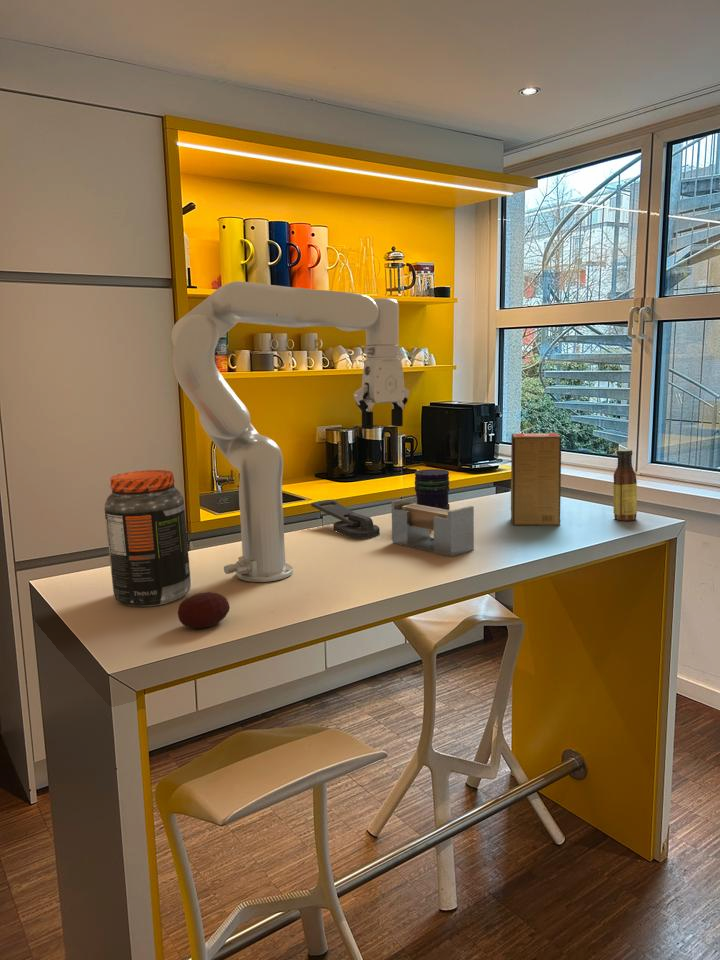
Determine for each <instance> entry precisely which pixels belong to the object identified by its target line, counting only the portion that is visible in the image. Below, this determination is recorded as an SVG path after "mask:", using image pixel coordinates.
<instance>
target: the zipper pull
mask: <svg viewBox="0 0 720 960" xmlns="http://www.w3.org/2000/svg"><path fill="white" fill-rule="evenodd" d="M310 506H311V507H312V508H314V509H316V510H319V511H321V512H323V513H325V514H327V515H329V516H330V517H331V516H332V517H334V518H336V519H338V521H336V522H333V524H332V525H333V526H332V527H333V532H335V531H337V532H339V533H341V534H340V535H342V534H343V535H342V536H344V535H345V537H346V536H347V538H348V537H349V539H351V538H352V540H368V538H369V539H372V537H374V538H376V536H377V537H379V536H380V535H381V532H380V527H379V526H378V525H376V524H374V521H373V519H372V517H370V516H367V515H363V514H359V513H356V512H354V511H352V510H351V509H350V508H347V507H346V506H344V505H343V504H341V503H339V502H337V501H336V500H334V499H325V500H324V499H323V500H317V501H315V502H311V503H310ZM337 532H336V533H337ZM339 533H338V534H339ZM378 535H379V536H378Z"/></svg>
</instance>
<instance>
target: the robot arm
mask: <svg viewBox="0 0 720 960" xmlns="http://www.w3.org/2000/svg"><path fill="white" fill-rule="evenodd" d="M399 313H400V307H399V302H398V301H397V299H394V298H388V297H386V298H385V297H381V298H371V297H370V296H369V295H366V294H361V293H357V292H356V293H355V292H346V291H338V290H324V289H314V288H313V289H312V288H304V287H293V286H283V285H275V284H267V283H257V282H251V281H240V280H239V281H238V280H237V281H235V280H234V281H231V282H228V283H225V284H224V285H221V286H219V287H218V288H217V289H216V290H214V291H213V292H212V293H211V294H209V296H208V297H206V298H205V299H204V300H203V301H202V302H200V303H199V304H197V305H196V306H195V307H194V308H192V309H191V310H190V311H189V312H187V313H186V314H184V316H182V317H181V318H180V319H179V320H177V322H175V324H174V325H173V328H172V330H171V334H170V335H171V341H172V342H171V343H172V344H173V351H172V366H173V372H174V375H175V378H176V381H177V382H178V385H179V386H180V387H181V389H182V391H183V392H184V393H185V395H186V397H187V398H188V399H189V401H190V402H191V403H192V405H193V406H194V408H195V409H196V411H198V418H199V422H200V426H201V427H202V428H203V430H204V432H205V434H207V437H208V438H210V440H212V442H213V443H214V445H215V446H216V447H217V449H218V450H219V451H220V452H221V454H222V455H223V456H224V457H225V458H226V460H227V461H228V462H229V463H230V465H231V466H232V467H233V468H235V470H237V471H238V472H239V483H238V485H239V486H238V503H239V505H238V506H239V516H240V517H239V518H240V533H241V549H242V550H241V551H242V553H241V554H242V556H238V560H237V561H235V563H230V564H226V565H224V566H223V572H224V573H225V574H226V575H229V574H233V573H235V574H236V576H237V578H238V579H239V580H241V581H245V582H251V583H266V582H267V583H268V582H274V581H275V582H276V581H279V580H283V579H286V578H288V577H290V576H291V575H292V574H293V572H294V571H293V566H292V565H291V564H288V563H286V552H285V551H286V550H285V549H286V547H285V527H284V526H285V525H284V524H285V523H284V507H283V472H284V456H283V453H282V449H281V448H280V446H279V444H277V442H276V441H275V440H273V439H271V438H270V437H268V436H266V435H263V434H260V433H259V432H258V431H257V430H256V428H255V427H254V426H253V424H252V423H251V414H250V411H249V409H248V408H247V406H246V405H245V404H244V403H243V401H242V400H241V399H240V398H239V397H238V396H237V394H236V392H235V391H234V390H233V388H232V387H231V386H230V385H229V383H228V382H227V381H226V379H225V377H223V375H222V373H221V372H220V371H219V369H218V367H217V365H216V360H215V352H216V348H217V345H218V343H219V340H220V339H221V338H222V337H223V336H224V335H225V334H226V333H228V332H229V331H230V330H231V329H232V328H234V327H235V326H236V325H237V324H238V323H243V324H253V325H255V324H256V325H264V326H276V327H285V328H307V327H334V328H337V329H338V330H340V331H344V332H356V331H365V342H366V343H365V349H363V350H364V351H363V352H364V354H365V356H366V357H365V359H364V363H363V368H362V369H363V370H362V379H361V386H360V388H358V389H356V390H355V391H354V392H353V394H352V395H353V397H354V400H355V404H356V406H357V407H358V408H359V409H358V410H359V412H361V428H362V429H365V430H373V428H374V411H372V409H373V408H374V406H375V404H376V403H377V404H387V403H389V404H391V406H392V408H391V411H390V412H391V414H390V415H391V420H390V421H391V426H392V427H403V424H404V415H403V414H404V413H403V412H404V411H403V410H405V408H406V404H407V403H408V398H409V396H410V393H411V391H410V389H408V388H407V387H405V375H404V370H403V369H404V368H403V363H402V360H401V359H399V357H400V355H399V354H400V353H399V351H400V350H399V348H400V346H399V345H400V343H399V342H400V341H399V337H400V336H399V333H400V332H399V330H400V327H399V326H400V325H399V323H400V320H399V318H400V314H399Z"/></svg>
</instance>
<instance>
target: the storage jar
mask: <svg viewBox="0 0 720 960" xmlns="http://www.w3.org/2000/svg"><path fill="white" fill-rule="evenodd" d="M449 475H450V471H448V470H446V469H437V468H436V469H435V468H433V469H431V468H430V469H429V468H428V469H421V470H416V471H415V472H414V476H415V477H414V491H415V497H417V504H418V505H424V506H429V507H435V508H440V509H446V510H450V509H451V508H450V507H451V506H450V504H449V492H450V476H449Z"/></svg>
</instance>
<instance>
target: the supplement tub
mask: <svg viewBox="0 0 720 960" xmlns="http://www.w3.org/2000/svg"><path fill="white" fill-rule="evenodd" d="M174 476H175V475H174V472H172V471H170V470H164V469H163V470H162V469H153V470H152V469H148V470H138V471H137V470H136V471H128V472H123V473H118V474H115V475H113V476H111V477H110V479H109V481H110V485H109V486H110V488H111V489H110V490H111V493H110V494H109V496H108V497H107V498H106V500H105V503H104V518H105V525H106V526H105V527H106V528H105V529H106V535H107V544H108V554H109V565H110V572H111V583H112V591H113V597H114V599H115V600H116V601H117V602H118V603H120V604H122V605H126V606H131V607H155V606H156V607H157V606H161V605H165V604H169V603H172V602H175V601H176V600H179V599H181V598H182V597H184V596H185V595H186V596H187V594H189V592H190V590H191V587H192V585H191V584H192V583H191V571H190V570H191V568H190V557H189V556H190V555H189V546H188V544H189V543H188V535H187V522H186V521H187V520H186V509H185V500H184V497H183V494H182V493H181V491H179V489H177V488H176V485H175V477H174Z"/></svg>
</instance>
